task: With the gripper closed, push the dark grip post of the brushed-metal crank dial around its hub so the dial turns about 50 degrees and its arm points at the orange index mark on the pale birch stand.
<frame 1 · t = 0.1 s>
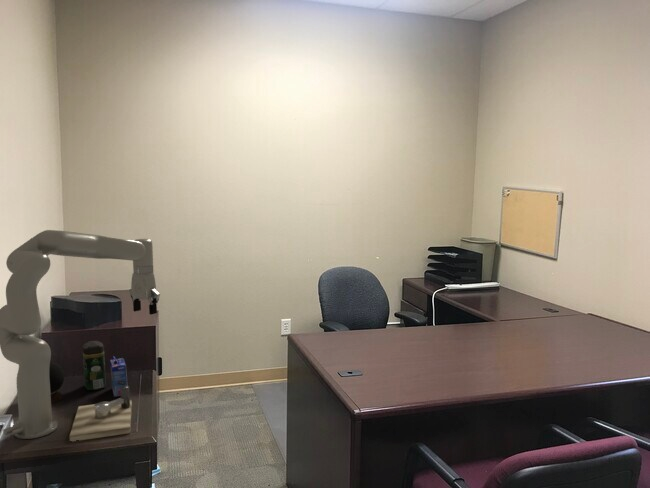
hand: (145, 312, 206), 31 cm above the table, fingers open, 9 cm apart
coffee jar: (95, 387, 211), on the table
ink cartridge box: (119, 392, 205), on the table
crank dial: (103, 421, 178), resting on birch stand, hinge at 0.0°
birch stand: (103, 421, 178), on the table
black half-round shape: (46, 400, 198), on the table
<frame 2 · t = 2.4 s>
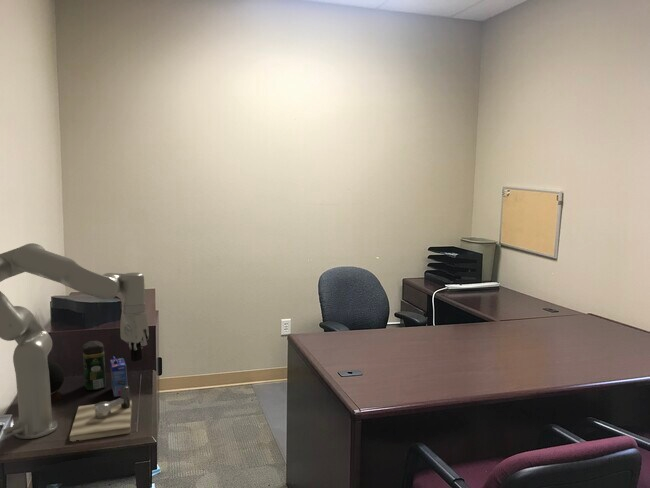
hand: (136, 360, 180), 21 cm above the table, fingers closed
nothing on the table moved.
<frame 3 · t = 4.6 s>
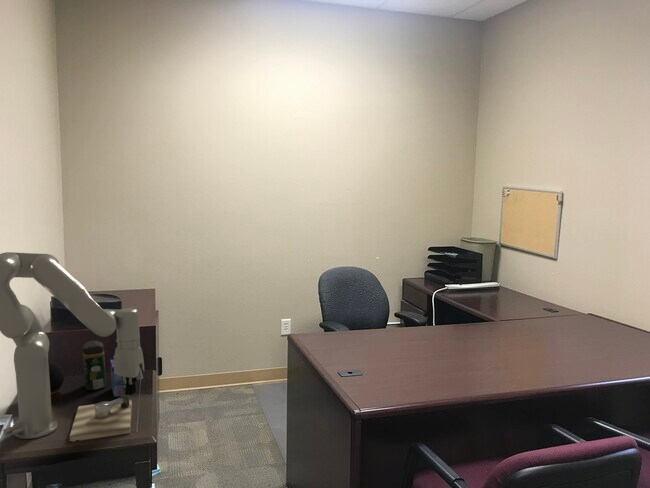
hand: (130, 393, 184), 8 cm above the table, fingers closed
crank dial: (103, 421, 178), resting on birch stand, hinge at 2.0°, touching gripper
everything else where it was.
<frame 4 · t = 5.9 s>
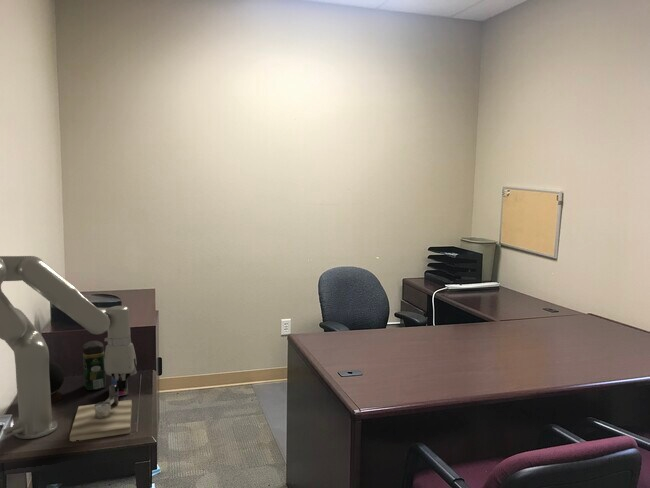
hand: (122, 390, 187), 8 cm above the table, fingers closed
crank dial: (103, 421, 178), resting on birch stand, hinge at 31.9°, touching gripper
everything else where it was.
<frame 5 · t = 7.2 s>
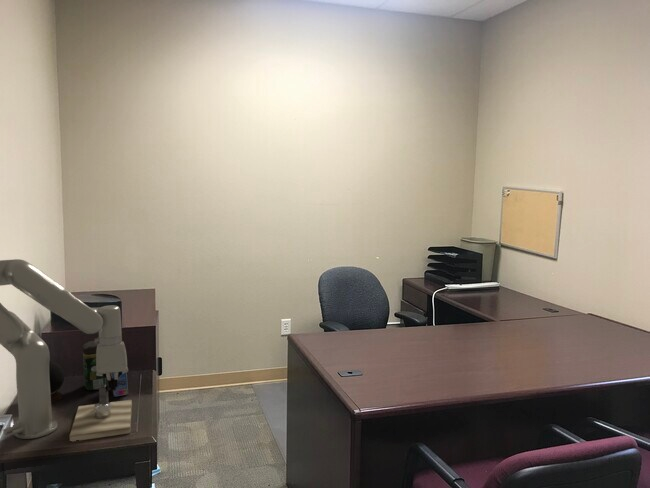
hand: (113, 389, 187), 8 cm above the table, fingers closed
crank dial: (103, 421, 178), resting on birch stand, hinge at 53.5°, touching gripper
everything else where it was.
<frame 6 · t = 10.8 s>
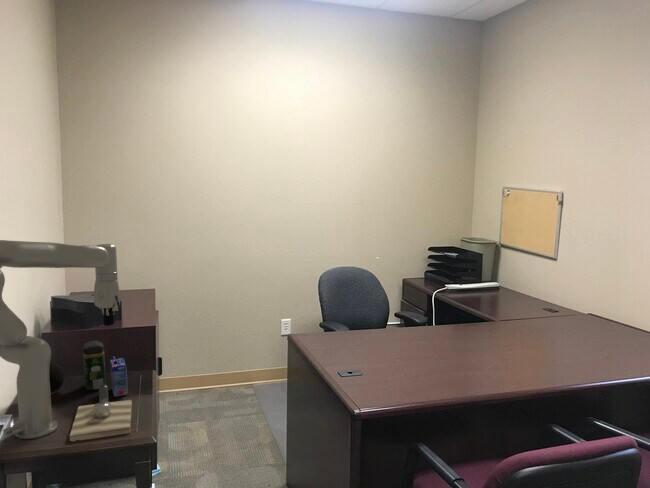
hand: (108, 324, 195), 29 cm above the table, fingers closed
crank dial: (103, 421, 178), resting on birch stand, hinge at 53.5°
everything else where it was.
at the end: crank dial at +54° (first picture: +0°) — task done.
